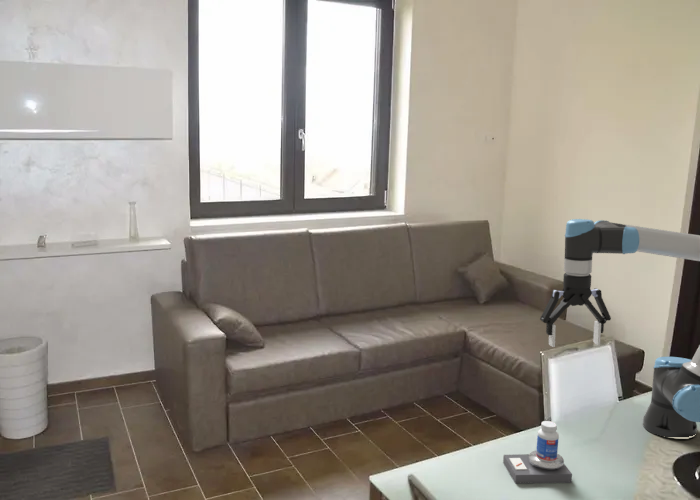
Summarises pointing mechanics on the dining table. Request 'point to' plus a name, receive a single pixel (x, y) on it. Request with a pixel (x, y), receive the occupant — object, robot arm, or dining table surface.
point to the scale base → (534, 471)
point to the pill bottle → (547, 442)
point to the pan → (546, 465)
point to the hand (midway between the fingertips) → (574, 344)
